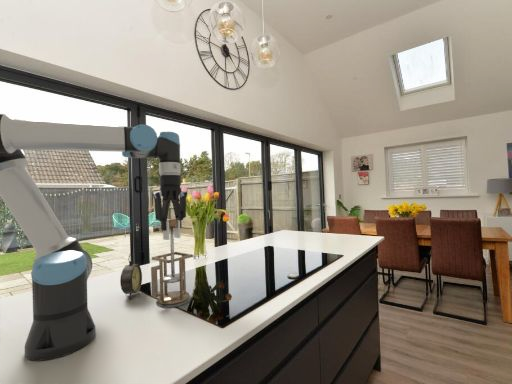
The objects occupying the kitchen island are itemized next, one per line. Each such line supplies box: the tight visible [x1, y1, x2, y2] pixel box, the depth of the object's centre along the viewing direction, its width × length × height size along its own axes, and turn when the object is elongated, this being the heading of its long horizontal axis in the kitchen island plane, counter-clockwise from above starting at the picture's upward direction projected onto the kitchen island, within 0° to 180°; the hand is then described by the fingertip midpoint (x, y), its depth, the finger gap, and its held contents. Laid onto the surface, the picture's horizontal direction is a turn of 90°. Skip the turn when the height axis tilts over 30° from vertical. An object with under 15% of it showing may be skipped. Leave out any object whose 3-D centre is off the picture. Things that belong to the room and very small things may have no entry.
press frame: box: [150, 251, 194, 309], centre depth 96 cm, size 14×12×16 cm
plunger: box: [163, 218, 184, 284], centre depth 97 cm, size 8×8×22 cm
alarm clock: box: [119, 253, 143, 300], centre depth 103 cm, size 11×5×16 cm, turn 5°
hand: (171, 238), depth 97 cm, fingers closed on plunger, 4 cm apart
